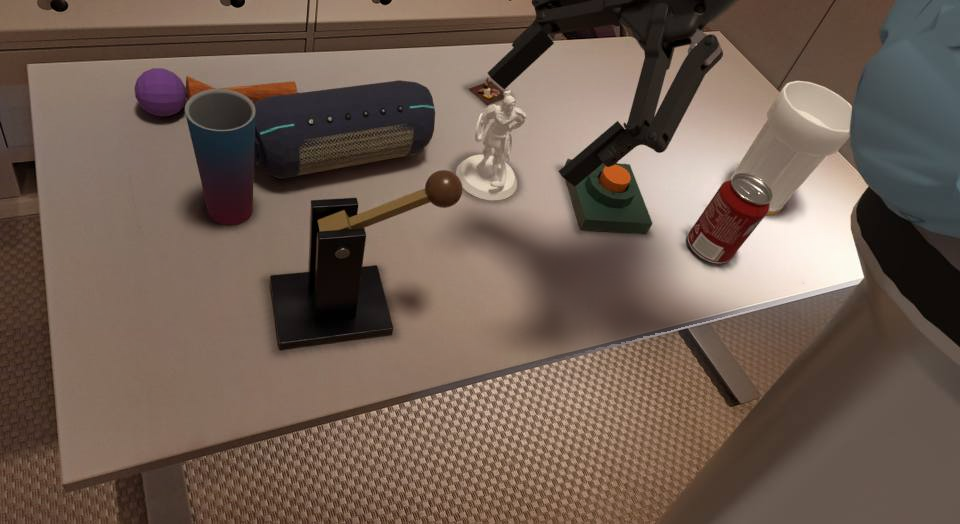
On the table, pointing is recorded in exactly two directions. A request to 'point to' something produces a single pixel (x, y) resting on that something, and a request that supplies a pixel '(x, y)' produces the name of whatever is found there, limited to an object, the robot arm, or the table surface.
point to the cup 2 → (796, 138)
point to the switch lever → (401, 203)
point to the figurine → (492, 172)
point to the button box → (609, 205)
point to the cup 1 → (224, 151)
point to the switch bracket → (331, 287)
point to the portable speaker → (341, 127)
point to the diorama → (488, 92)
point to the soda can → (730, 218)
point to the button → (615, 178)
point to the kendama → (191, 91)
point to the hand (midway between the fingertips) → (529, 128)
